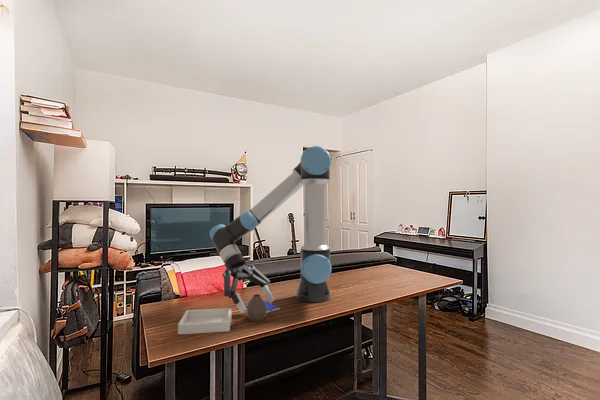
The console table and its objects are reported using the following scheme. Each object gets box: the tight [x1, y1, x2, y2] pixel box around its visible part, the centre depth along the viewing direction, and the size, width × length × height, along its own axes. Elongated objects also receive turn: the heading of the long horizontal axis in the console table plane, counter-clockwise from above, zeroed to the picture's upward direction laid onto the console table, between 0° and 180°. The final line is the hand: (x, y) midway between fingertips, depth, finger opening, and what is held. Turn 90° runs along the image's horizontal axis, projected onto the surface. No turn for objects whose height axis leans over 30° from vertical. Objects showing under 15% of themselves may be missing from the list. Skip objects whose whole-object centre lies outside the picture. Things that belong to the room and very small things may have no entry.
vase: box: [246, 293, 267, 322], centre depth 111 cm, size 7×7×9 cm
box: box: [177, 307, 233, 335], centre depth 106 cm, size 16×14×3 cm
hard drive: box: [245, 300, 281, 314], centre depth 124 cm, size 2×8×12 cm
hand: (258, 306), depth 110 cm, fingers open, 13 cm apart
